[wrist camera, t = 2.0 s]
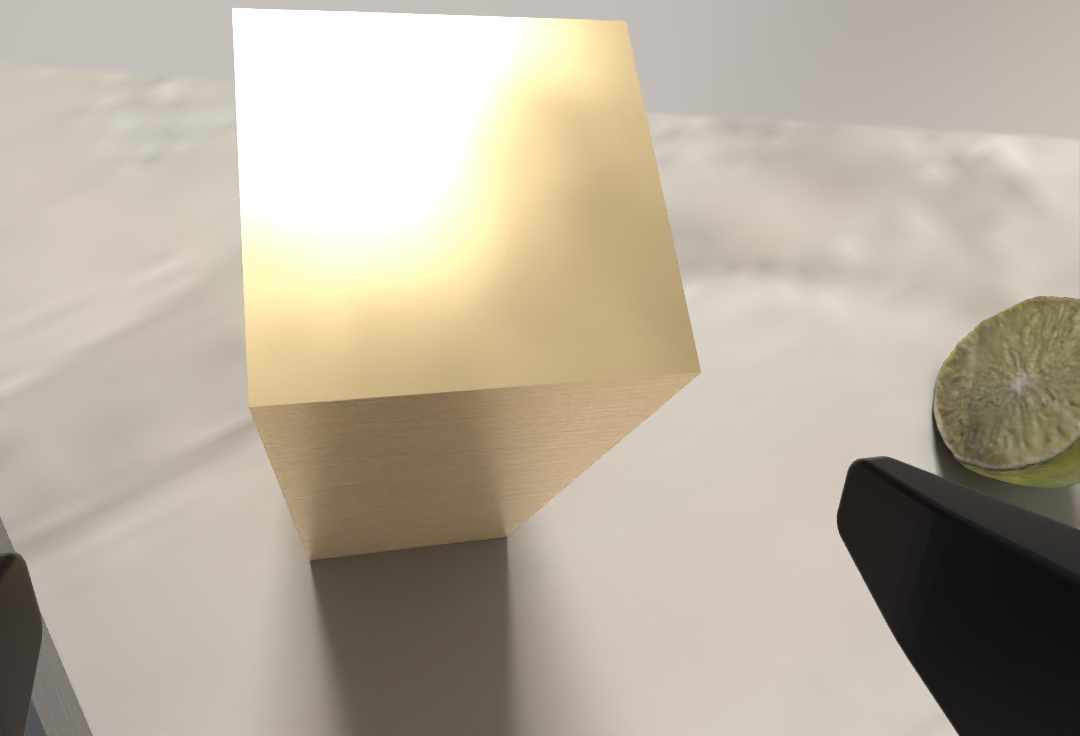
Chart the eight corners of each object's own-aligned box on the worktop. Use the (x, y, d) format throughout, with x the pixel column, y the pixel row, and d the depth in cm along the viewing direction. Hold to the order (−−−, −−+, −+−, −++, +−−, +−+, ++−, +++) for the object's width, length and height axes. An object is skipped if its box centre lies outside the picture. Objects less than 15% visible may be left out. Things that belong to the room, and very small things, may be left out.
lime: (948, 518, 23) (1101, 480, 18) (880, 352, 24) (1007, 276, 19) (1076, 481, 24) (1250, 436, 19) (1004, 324, 25) (1152, 247, 20)
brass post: (506, 536, 20) (700, 372, 9) (309, 560, 19) (248, 407, 8) (483, 357, 21) (626, 20, 10) (298, 370, 20) (232, 8, 9)
